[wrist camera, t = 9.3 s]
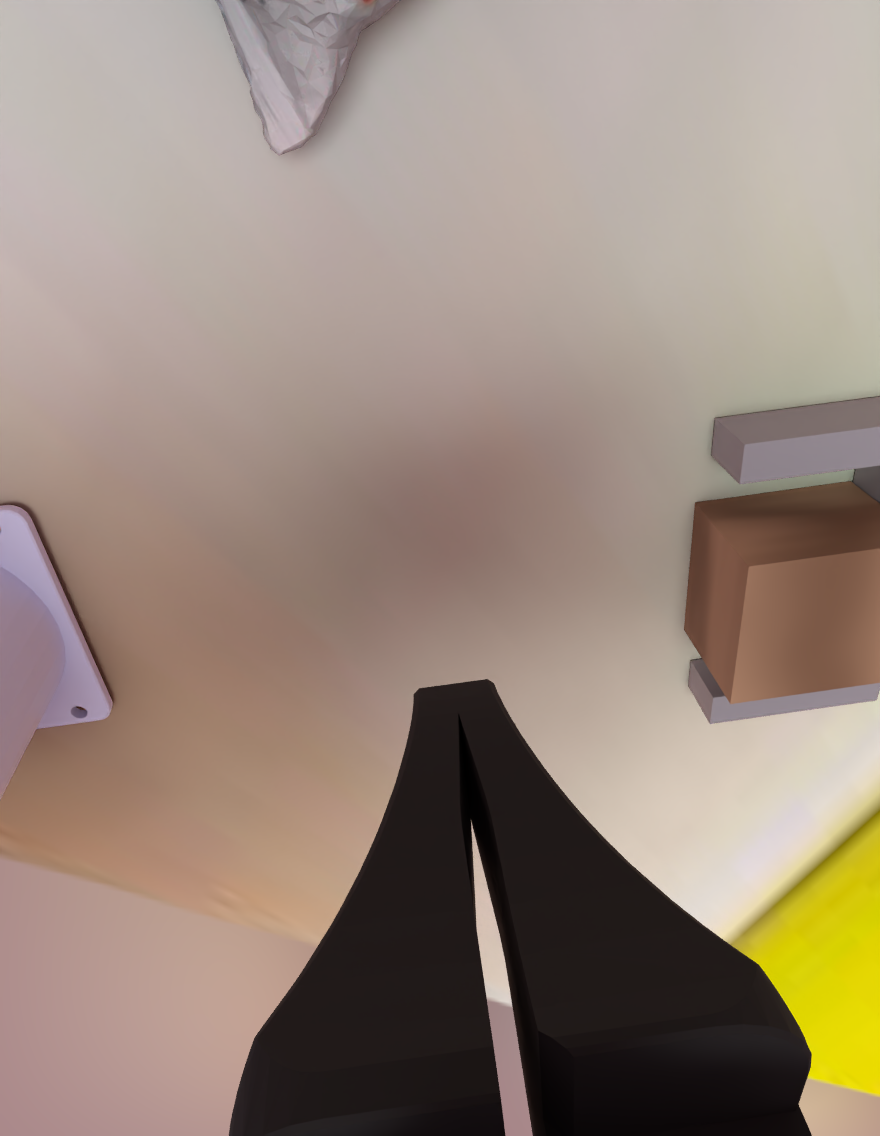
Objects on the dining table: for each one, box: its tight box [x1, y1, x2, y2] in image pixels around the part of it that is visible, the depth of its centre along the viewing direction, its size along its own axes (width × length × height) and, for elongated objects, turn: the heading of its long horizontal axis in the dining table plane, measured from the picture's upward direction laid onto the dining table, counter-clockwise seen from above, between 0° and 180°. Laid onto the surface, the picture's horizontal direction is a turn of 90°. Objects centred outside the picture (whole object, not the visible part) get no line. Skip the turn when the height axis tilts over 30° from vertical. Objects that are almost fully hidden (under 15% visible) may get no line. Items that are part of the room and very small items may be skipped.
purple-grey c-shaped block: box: [688, 397, 880, 724], centre depth 24 cm, size 6×10×2 cm, turn 6°
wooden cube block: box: [684, 481, 880, 704], centre depth 24 cm, size 5×5×4 cm
